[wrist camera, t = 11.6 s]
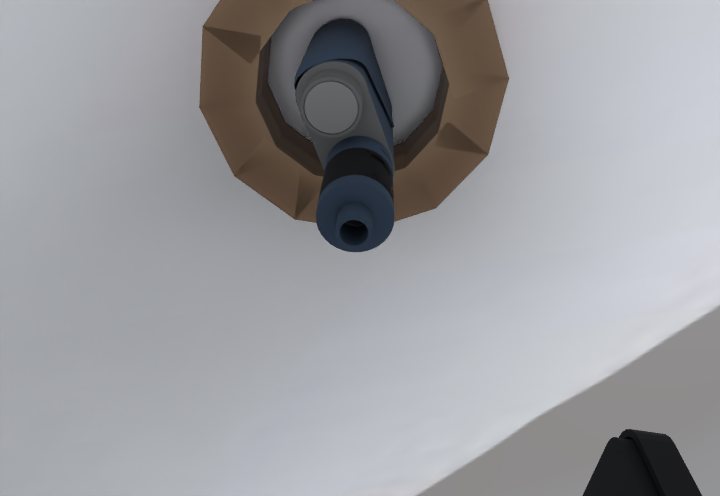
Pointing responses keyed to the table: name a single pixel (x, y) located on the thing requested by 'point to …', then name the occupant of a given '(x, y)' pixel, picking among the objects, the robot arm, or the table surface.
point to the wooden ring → (298, 155)
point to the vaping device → (349, 135)
